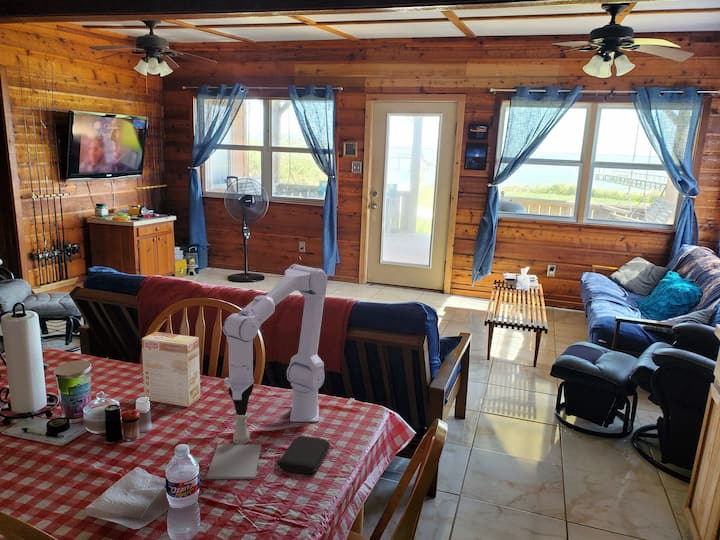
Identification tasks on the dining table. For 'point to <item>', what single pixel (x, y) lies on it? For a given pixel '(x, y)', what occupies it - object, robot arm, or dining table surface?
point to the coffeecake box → (171, 368)
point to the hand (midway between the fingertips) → (241, 413)
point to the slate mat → (234, 462)
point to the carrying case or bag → (304, 455)
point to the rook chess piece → (241, 430)
